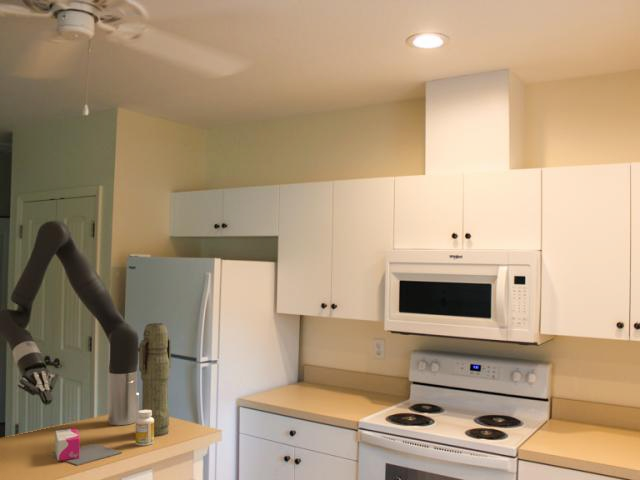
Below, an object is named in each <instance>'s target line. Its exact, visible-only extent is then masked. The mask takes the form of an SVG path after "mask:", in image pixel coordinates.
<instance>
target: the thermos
mask: <svg viewBox="0 0 640 480" xmlns="http://www.w3.org/2000/svg"><path fill="white" fill-rule="evenodd" d="M168 334H169V332H168V329H167V326H166V324H164V323H162V322H152V323H151V322H150V323H148V324H146V325H145V328H144V330H143V334H142V335H143V339H142V340H141V341H140V342H139V344H138V371H139V372H140V379H141V381H142V387H141V388H142V393H141V395H142V396H141V398H142V399H141V403H142V404H141V406H142V407H141V410H151V411H152V416H151V417H152V418H153V419H154V438H155V437H156V438H157V437H162V436H165V435H167V434H169V425H170V410H169V406H168V402H169V401H168V391H169V390H168V389H169V388H168V387H169V385H168V382H169V381H168V380H169V378H170V369H171V365H172V364H171V363H172V362H171V361H172V360H171V359H172V358H171V357H172V355H171V353H172V341H171V338H170V337H169V336H168Z"/></svg>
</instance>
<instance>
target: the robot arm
mask: <svg viewBox="0 0 640 480" xmlns="http://www.w3.org/2000/svg"><path fill="white" fill-rule="evenodd" d="M54 256H56V257H57V258H58V260H59V262H60V263H61V265H62V267H63V269H64V272H65V274H66V277H67V279H68V281H69V283H70V286H71V288H72V289H73V291H74V292H75V295H77V297H78V298H79V299H80V301H81V303H82V304H83V305H84V306H85V307H86V309H87V310H88V311H89V312H90V313H91V314H92V315H93V317H94V318H95V319H96V320H97V321H98V324H99V325H100V326H101V329H102V330H103V332H104V334H105V336H106V338H107V340H108V342H109V345H110V346H109V364H108V365H109V366H108V412H107V413H108V414H107V415H108V419H107V420H108V422H107V423H108V425H111V426H127V425H131V424H136V419H138V418H139V417H138V411H140V393H139V392H138V379H137V378H138V365H139V344H140V342H139V334H138V332H137V331H136V329H135V328H134V327H132V326H131V325H130V324H129V322H127V320H126V319H125V318H124V317H123V315H122V314H121V313H120V311H119V310H118V309H117V307H116V305H115V303H114V300H113V298H112V296H111V294H110V292H109V290H108V288H107V287H106V284H105V283H104V281H103V280H102V278H101V277H100V275H99V274H98V272H97V271H96V269H94V266H93V265H92V264H91V263H90V261H89V260H88V259H87V258H86V256H85V255H84V254H83V253H82V251H81V249H80V248H79V246H78V244H77V242H76V239H75V238H74V237H73V235H72V232H71V231H70V229H69V227H68V226H67V224H66V223H64V222H62V221H61V220H56V219H55V220H54V219H53V220H49V221H46V222H44V223H42V224H41V225H40V227H39V228H38V231H37V235H36V237H35V241H34V245H33V249H32V252H31V254H30V257H29V259H28V261H27V264H26V265H25V267H24V269H23V271H22V272H21V275H20V277H19V278H18V281H17V282H16V285H15V287H14V289H13V291H12V292H11V295H10V300H11V302H12V303H14V304H15V305H17V309H10V308H1V309H0V335H1V336H2V338H3V339H4V340H5V341H6V342H7V343H8V345H9V347H10V348H9V349H10V350H11V352H12V355H13V358H14V362H15V363H16V367H17V368H18V370H19V373H20V375H21V376H22V377H21V379H20V380H19V382H18V383H17V387H18V388H19V389H21V390H23V391H25V392H26V393H28V394H30V395H32V396H35V395H37V396H38V397H39V399H40V401H41V403H42V404H43V405H44V406H49V405H51V404H52V402H53V400H54V399H53V396H52V391H53V389H54V388H55V386H56V384H57V381H58V379H59V376H60V375H59V373H55V374H53V373H51V372H50V370H49V369H48V368H47V363H46V362H45V360H44V358H43V355H42V353H41V350H40V349H39V347H38V345H37V344H36V342H35V339H34V338H33V336H32V334H31V332H30V331H29V330H27V329H26V328H27V327H28V326H29V324H30V320H31V316H32V315H31V314H32V310H33V303H34V301H35V299H36V296H37V295H38V293H39V291H40V289H41V287H42V283H43V281H44V278H45V276H46V272H47V271H48V270H47V269H48V268H49V265H50V263H51V261H52V259H53V258H54ZM49 382H50V383H49Z"/></svg>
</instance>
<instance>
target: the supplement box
mask: <svg viewBox="0 0 640 480" xmlns="http://www.w3.org/2000/svg"><path fill="white" fill-rule="evenodd" d="M54 437H55V439H54V450H55V451H54V452H55V453H56V455H57V458H56V459H57V461H63V460H69V459H77V458H79V449H80V447H81V446H80V443H81V437H80V435H79V432H78V430H77V428H67V429H58V430H55V436H54Z"/></svg>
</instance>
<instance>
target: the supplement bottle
mask: <svg viewBox="0 0 640 480" xmlns="http://www.w3.org/2000/svg"><path fill="white" fill-rule="evenodd" d="M151 416H152V411H151V410H142V409H141V410H139V411H138V417H139V418H138V419H136V422H135V445H136V446H140V447H141V446H144V447H145V446H150V445H152V444H154V442H155V437H154V419H153V418H152V417H151Z"/></svg>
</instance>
